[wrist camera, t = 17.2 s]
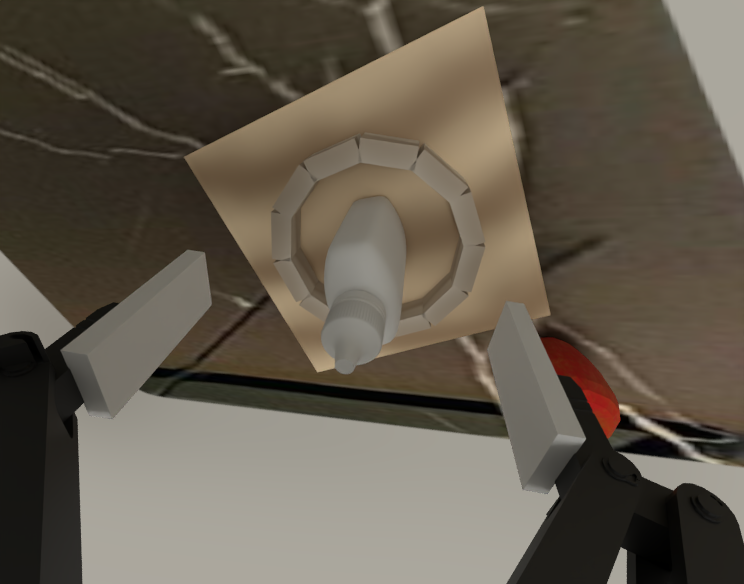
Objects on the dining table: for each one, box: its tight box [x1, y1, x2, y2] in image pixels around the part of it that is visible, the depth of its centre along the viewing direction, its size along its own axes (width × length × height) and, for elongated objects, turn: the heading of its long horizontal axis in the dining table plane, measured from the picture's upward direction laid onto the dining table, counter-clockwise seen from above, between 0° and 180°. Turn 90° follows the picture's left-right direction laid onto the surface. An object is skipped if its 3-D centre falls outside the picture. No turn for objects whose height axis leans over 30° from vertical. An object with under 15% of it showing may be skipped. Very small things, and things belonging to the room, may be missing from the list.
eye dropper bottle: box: [321, 196, 406, 374], centre depth 18 cm, size 4×6×12 cm
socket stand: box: [184, 6, 551, 372], centre depth 23 cm, size 18×18×4 cm
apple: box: [540, 337, 620, 439], centre depth 25 cm, size 6×6×8 cm
